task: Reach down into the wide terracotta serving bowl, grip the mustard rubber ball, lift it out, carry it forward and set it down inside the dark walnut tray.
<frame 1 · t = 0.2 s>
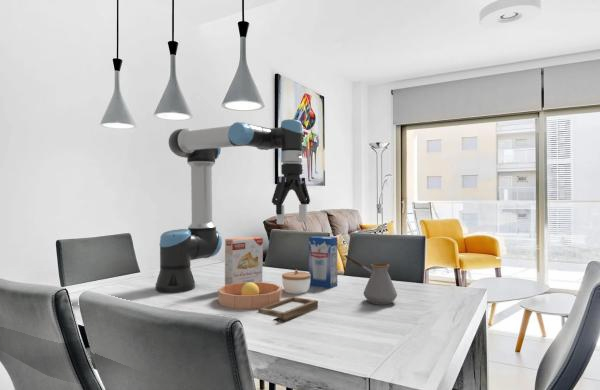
hand: (292, 223, 145), 27 cm above the table, tool pointing down, fingers open, 13 cm apart
ball: (250, 300, 138), point 1 cm above the table, touching bowl
bowl: (250, 304, 138), on the table
milk carton: (323, 286, 167), on the table
coffee pot: (368, 300, 144), on the table
tray: (289, 312, 128), on the table
cracker box: (244, 293, 156), on the table
lidded jar: (296, 295, 151), on the table
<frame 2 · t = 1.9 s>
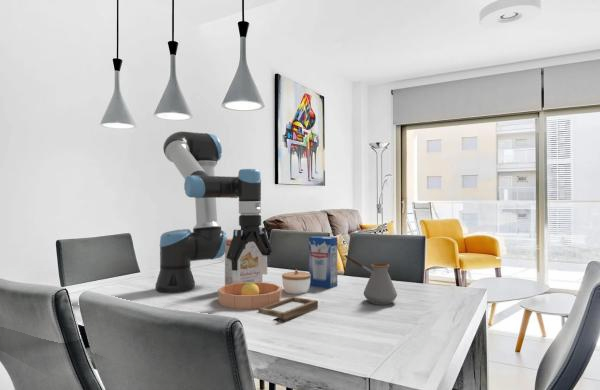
hand: (250, 277, 137), 9 cm above the table, tool pointing down, fingers open, 13 cm apart
nothing on the table moved.
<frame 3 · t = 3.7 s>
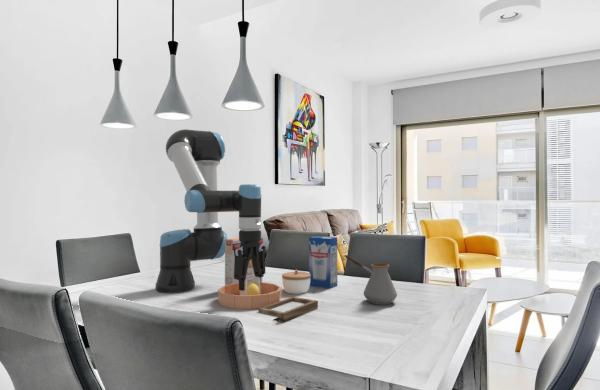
hand: (250, 297, 138), 2 cm above the table, tool pointing down, fingers closed on ball, 6 cm apart
ball: (250, 300, 138), point 1 cm above the table, touching bowl, gripper
everything else where it was.
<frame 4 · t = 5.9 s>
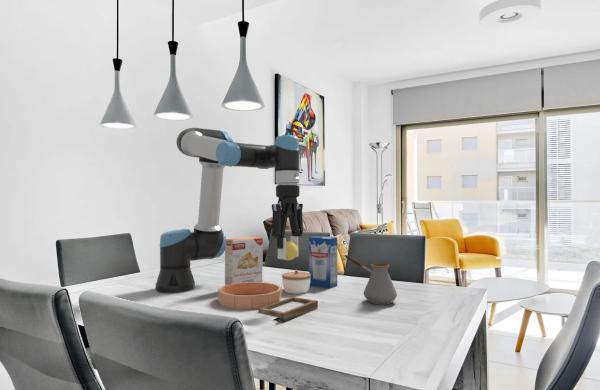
hand: (288, 257, 128), 17 cm above the table, tool pointing down, fingers closed on ball, 6 cm apart
ball: (288, 260, 128), point 17 cm above the table, touching gripper
everything else where it was.
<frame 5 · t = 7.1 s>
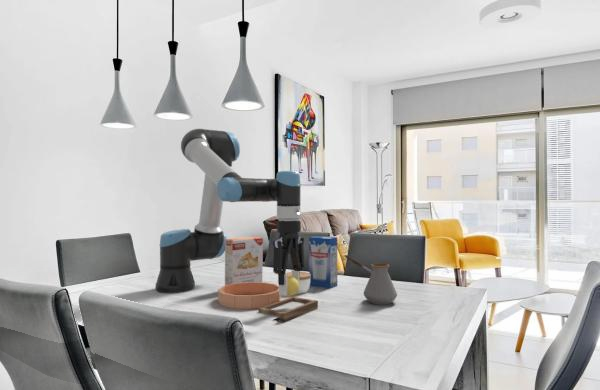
hand: (289, 292, 128), 6 cm above the table, tool pointing down, fingers closed on ball, 6 cm apart
ball: (289, 295, 128), point 5 cm above the table, touching gripper
everything else where it was.
when the fingers open (4 cm above the table, at t = 8.1 s): ball drops 2 cm, resting on tray.
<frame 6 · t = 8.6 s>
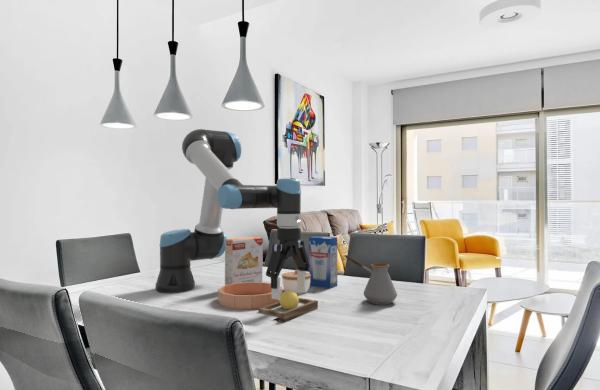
hand: (289, 294, 128), 6 cm above the table, tool pointing down, fingers open, 13 cm apart
ball: (289, 309, 128), point 1 cm above the table, touching tray
everything else where it was.
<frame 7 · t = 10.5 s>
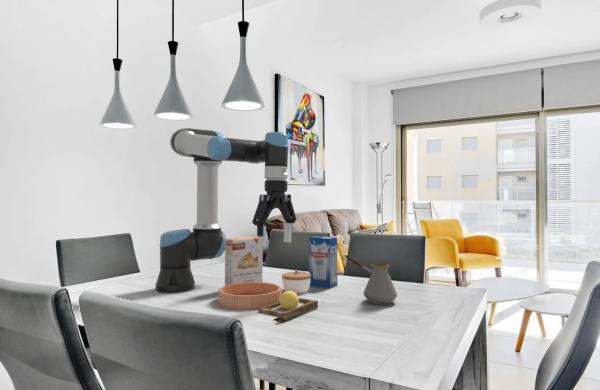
hand: (275, 244, 133), 21 cm above the table, tool pointing down, fingers open, 13 cm apart
nothing on the table moved.
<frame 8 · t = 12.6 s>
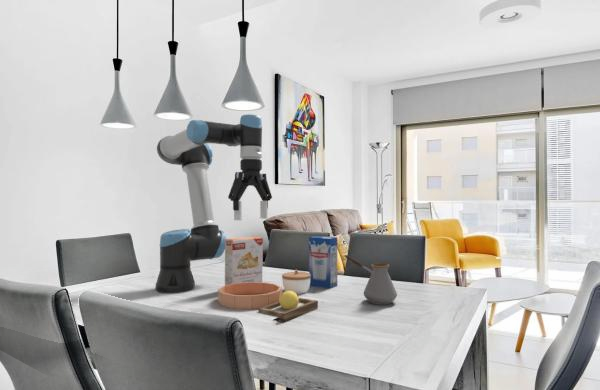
hand: (251, 219, 143), 29 cm above the table, tool pointing down, fingers open, 13 cm apart
nothing on the table moved.
at the end: ball inside the target area on the tray (0.0 cm from its centre), point 0.8 cm above the tray's base; the gripper is holding nothing; ball touching tray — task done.
